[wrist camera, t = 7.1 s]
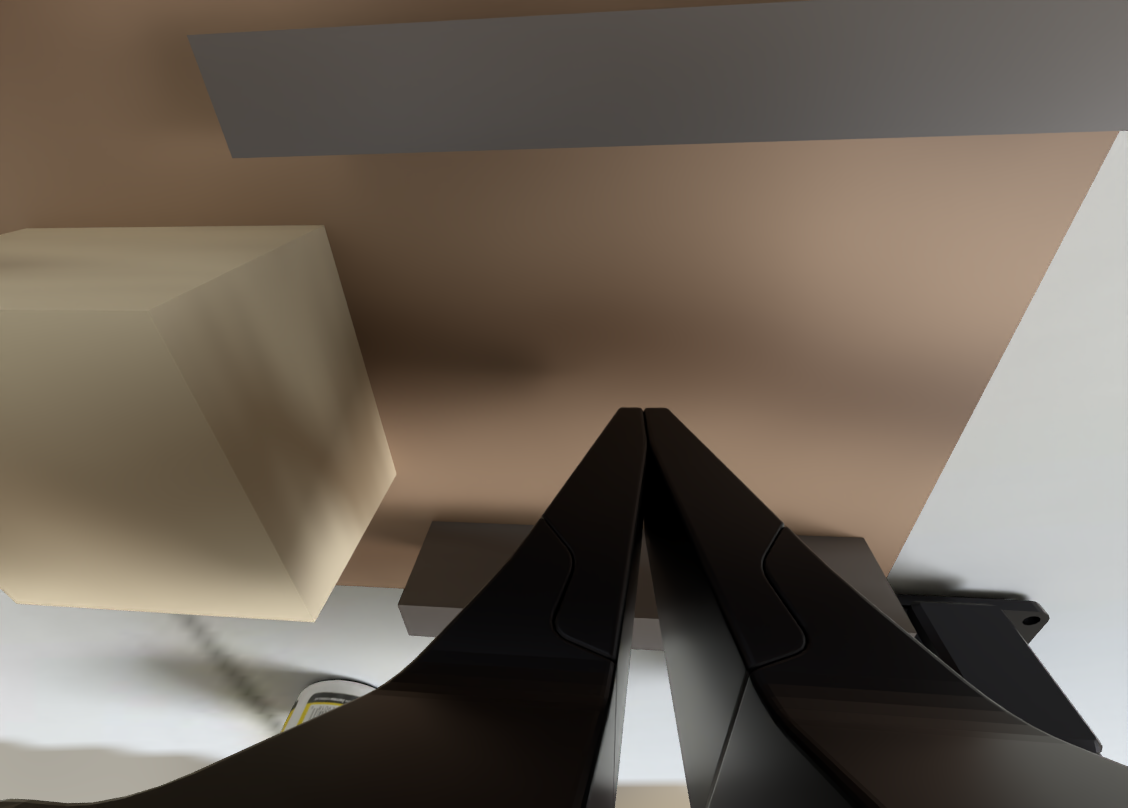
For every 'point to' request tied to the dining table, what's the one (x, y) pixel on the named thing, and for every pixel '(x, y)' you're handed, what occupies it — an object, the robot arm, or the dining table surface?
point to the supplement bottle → (323, 699)
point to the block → (182, 421)
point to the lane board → (605, 226)
